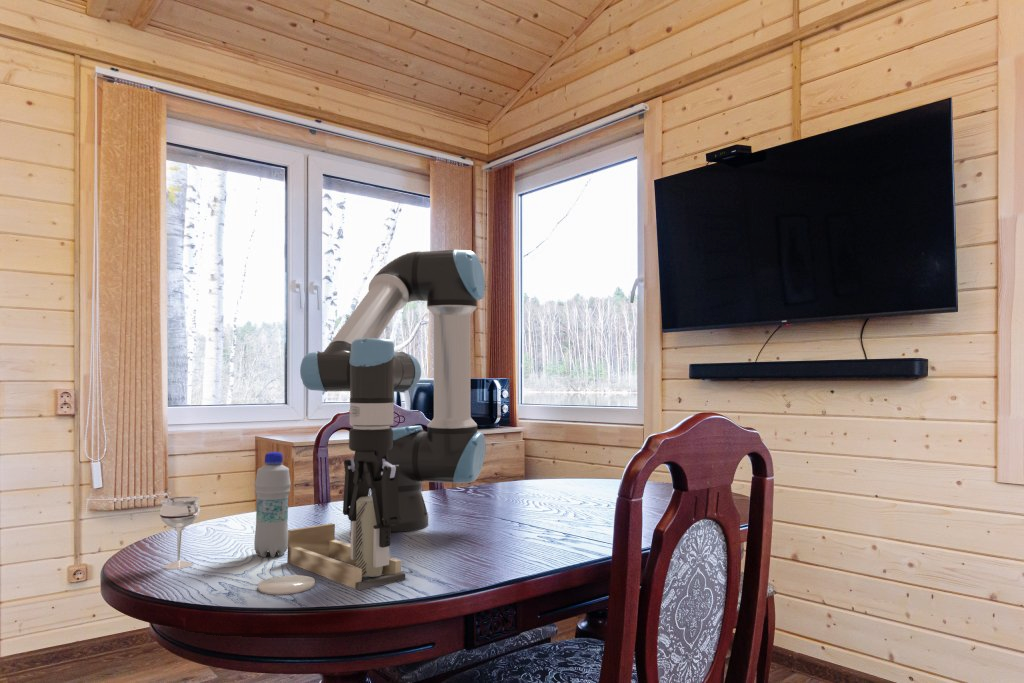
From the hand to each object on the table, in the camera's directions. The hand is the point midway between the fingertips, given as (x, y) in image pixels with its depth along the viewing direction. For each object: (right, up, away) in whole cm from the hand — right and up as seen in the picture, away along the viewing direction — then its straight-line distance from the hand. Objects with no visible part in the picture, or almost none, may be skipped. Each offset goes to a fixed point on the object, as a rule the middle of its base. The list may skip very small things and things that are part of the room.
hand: (369, 561), depth 121 cm
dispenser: (-6, -3, +5) cm, 8 cm away
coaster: (-13, -3, -5) cm, 14 cm away
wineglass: (-37, -3, +8) cm, 38 cm away
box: (0, -2, 0) cm, 2 cm away
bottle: (-23, -4, +17) cm, 28 cm away
